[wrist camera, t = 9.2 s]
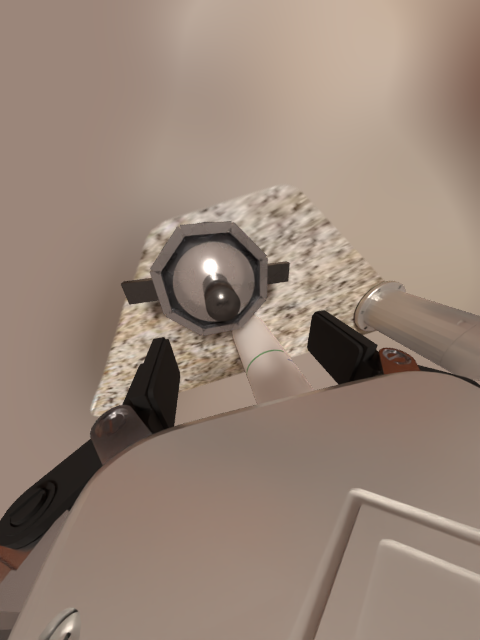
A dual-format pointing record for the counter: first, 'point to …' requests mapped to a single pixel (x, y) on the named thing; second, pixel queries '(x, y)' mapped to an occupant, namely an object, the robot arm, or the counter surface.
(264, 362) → the cylindrical container
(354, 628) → the robot arm
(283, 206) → the counter surface
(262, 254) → the pot
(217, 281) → the lid
